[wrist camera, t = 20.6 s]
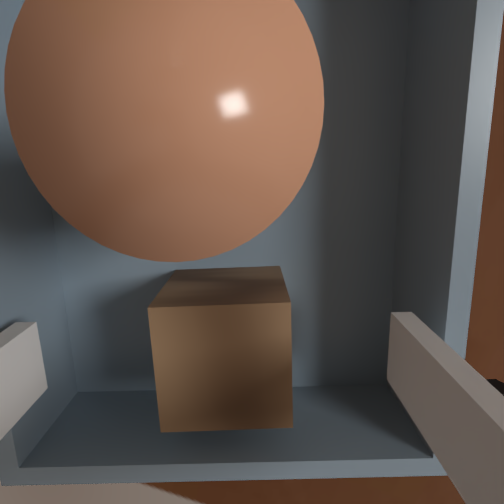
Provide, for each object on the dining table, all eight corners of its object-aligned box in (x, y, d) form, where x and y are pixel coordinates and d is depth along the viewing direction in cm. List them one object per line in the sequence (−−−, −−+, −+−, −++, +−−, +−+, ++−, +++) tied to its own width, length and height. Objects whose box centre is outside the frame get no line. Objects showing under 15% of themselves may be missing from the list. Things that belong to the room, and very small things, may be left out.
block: (183, 364, 19) (160, 432, 14) (175, 269, 18) (147, 307, 13) (282, 360, 19) (293, 427, 14) (279, 265, 18) (291, 302, 13)
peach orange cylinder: (160, 89, 16) (-25, -72, 5) (275, 85, 16) (326, -85, 5) (168, 205, 17) (31, 266, 6) (277, 201, 17) (322, 257, 6)
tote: (6, -63, 16) (-140, -201, 10) (424, -74, 16) (528, -219, 10) (73, 394, 20) (1, 485, 15) (393, 386, 20) (451, 475, 14)
